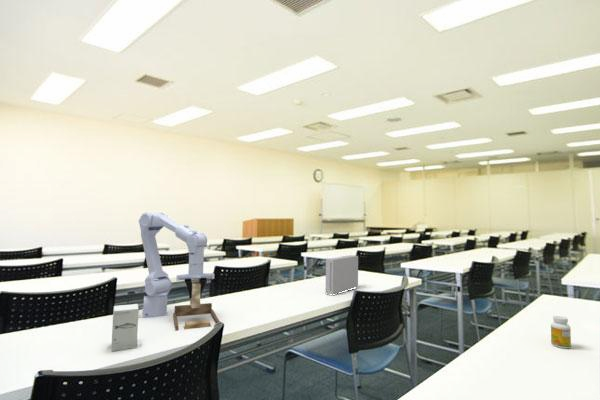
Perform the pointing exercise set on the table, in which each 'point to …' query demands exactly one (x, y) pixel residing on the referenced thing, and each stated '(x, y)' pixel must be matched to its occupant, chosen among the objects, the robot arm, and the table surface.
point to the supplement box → (125, 327)
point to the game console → (341, 274)
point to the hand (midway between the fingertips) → (195, 297)
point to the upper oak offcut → (197, 324)
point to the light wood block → (195, 294)
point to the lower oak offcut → (198, 327)
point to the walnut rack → (193, 312)
